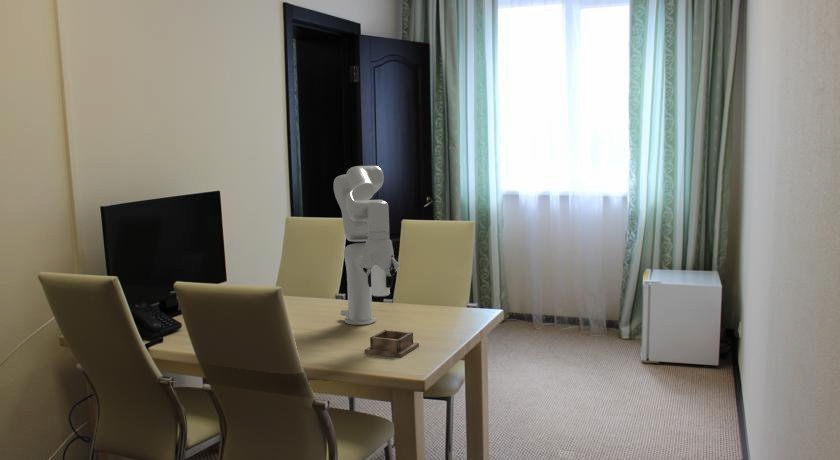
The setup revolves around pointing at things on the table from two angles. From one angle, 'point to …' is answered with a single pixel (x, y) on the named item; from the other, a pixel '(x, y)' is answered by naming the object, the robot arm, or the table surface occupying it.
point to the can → (379, 282)
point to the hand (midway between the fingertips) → (380, 286)
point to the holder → (392, 343)
